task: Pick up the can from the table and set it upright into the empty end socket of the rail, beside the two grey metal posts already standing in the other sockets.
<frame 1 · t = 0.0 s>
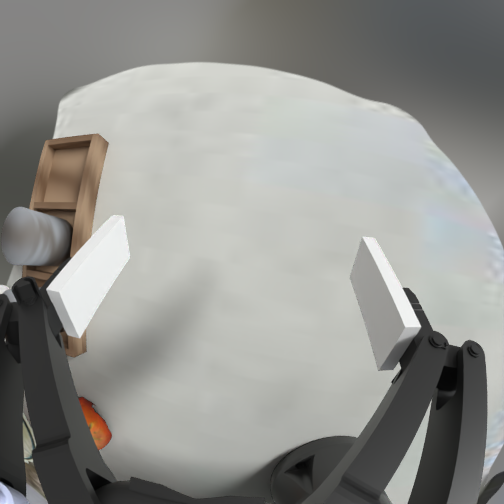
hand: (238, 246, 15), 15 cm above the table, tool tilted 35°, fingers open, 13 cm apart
tomato: (90, 421, 29), on the table
socket rail: (62, 242, 31), on the table
can: (7, 306, 30), on the table
decorative vase: (7, 422, 29), on the table
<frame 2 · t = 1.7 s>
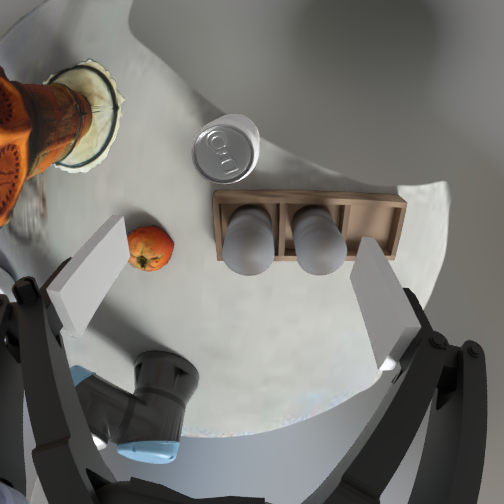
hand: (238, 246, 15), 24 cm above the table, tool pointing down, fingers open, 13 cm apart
tomato: (150, 244, 43), on the table
cereal bowl: (8, 282, 50), on the table
socket rail: (310, 221, 40), on the table
can: (234, 137, 35), on the table
decorative vase: (74, 117, 32), on the table
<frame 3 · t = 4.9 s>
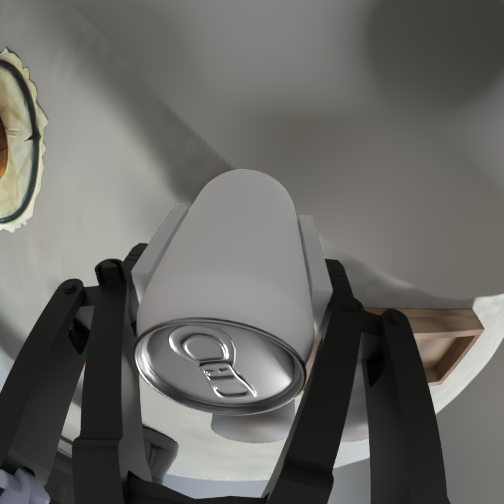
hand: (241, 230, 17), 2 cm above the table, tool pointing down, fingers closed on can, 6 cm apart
socket rail: (349, 343, 25), on the table
can: (245, 213, 19), on the table, touching gripper
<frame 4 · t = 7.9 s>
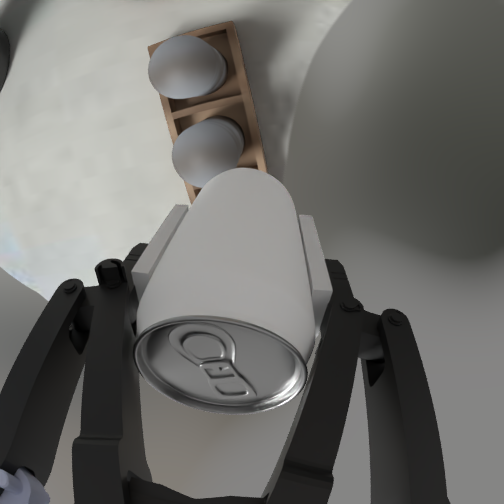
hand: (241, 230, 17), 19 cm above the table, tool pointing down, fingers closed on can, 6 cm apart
socket rail: (220, 139, 32), on the table
can: (245, 212, 19), point 17 cm above the table, touching gripper
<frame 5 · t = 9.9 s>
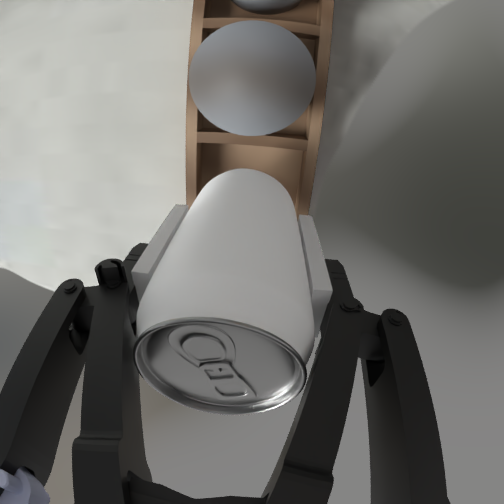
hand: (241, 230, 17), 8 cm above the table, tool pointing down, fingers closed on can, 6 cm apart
socket rail: (257, 81, 19), on the table
can: (245, 213, 19), point 6 cm above the table, touching gripper
when the fingers open (5 cm above the table, at t = 11.3 s): can drops 1 cm, resting on socket rail.
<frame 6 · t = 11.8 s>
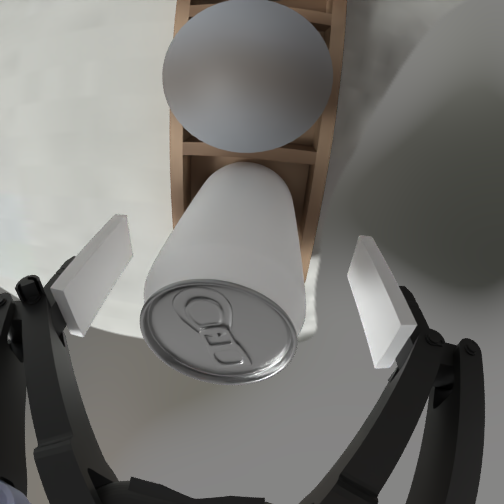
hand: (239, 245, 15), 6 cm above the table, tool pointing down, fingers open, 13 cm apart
socket rail: (256, 80, 16), on the table
can: (246, 204, 20), point 1 cm above the table, touching socket rail
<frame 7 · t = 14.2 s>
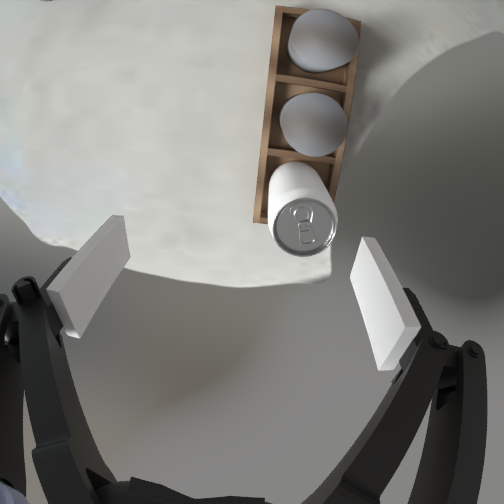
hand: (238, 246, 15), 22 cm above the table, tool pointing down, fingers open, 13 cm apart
socket rail: (304, 117, 31), on the table
can: (294, 185, 35), point 1 cm above the table, touching socket rail
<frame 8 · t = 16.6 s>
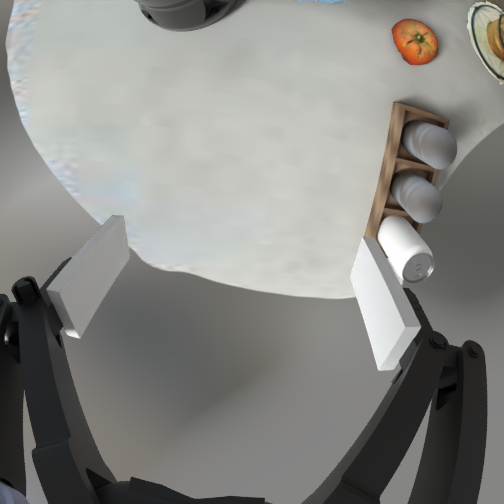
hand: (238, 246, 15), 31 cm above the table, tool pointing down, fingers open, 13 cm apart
tomato: (410, 42, 30), on the table
socket rail: (402, 183, 43), on the table
can: (391, 229, 47), point 1 cm above the table, touching socket rail
decorative vase: (498, 42, 24), on the table
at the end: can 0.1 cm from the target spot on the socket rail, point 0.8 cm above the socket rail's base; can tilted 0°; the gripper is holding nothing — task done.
